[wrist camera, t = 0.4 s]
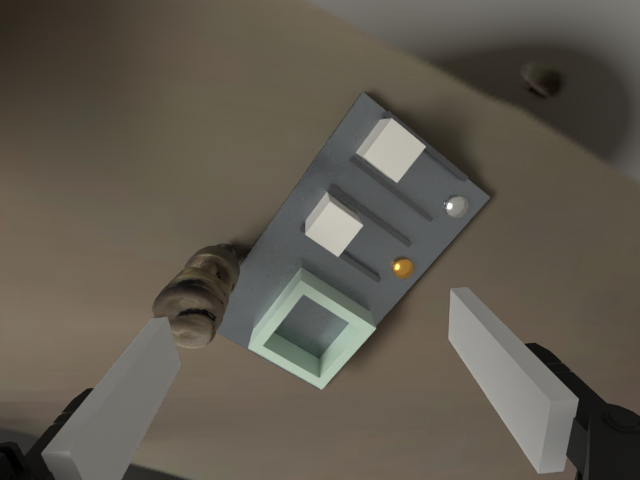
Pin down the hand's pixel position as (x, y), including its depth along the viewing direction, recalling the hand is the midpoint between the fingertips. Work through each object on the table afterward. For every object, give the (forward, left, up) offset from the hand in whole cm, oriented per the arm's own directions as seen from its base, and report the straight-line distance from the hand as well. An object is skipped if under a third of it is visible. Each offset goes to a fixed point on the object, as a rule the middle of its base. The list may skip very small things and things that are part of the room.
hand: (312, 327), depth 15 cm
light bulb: (-5, -10, -23) cm, 26 cm away
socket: (+8, -11, -22) cm, 26 cm away
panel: (+6, -3, -23) cm, 24 cm away
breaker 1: (+2, +1, -22) cm, 22 cm away
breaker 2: (+2, +10, -22) cm, 24 cm away
